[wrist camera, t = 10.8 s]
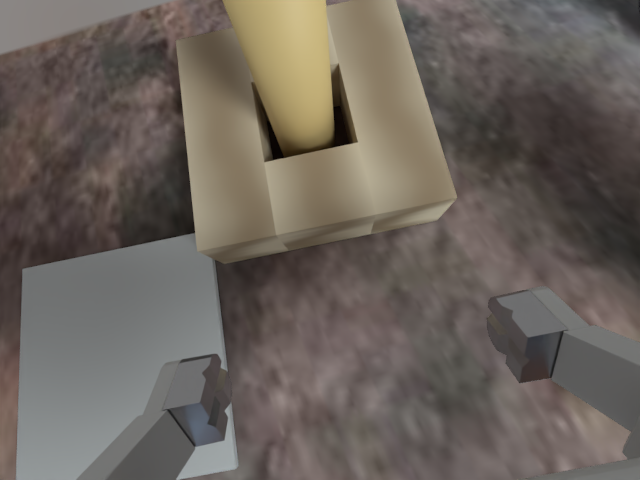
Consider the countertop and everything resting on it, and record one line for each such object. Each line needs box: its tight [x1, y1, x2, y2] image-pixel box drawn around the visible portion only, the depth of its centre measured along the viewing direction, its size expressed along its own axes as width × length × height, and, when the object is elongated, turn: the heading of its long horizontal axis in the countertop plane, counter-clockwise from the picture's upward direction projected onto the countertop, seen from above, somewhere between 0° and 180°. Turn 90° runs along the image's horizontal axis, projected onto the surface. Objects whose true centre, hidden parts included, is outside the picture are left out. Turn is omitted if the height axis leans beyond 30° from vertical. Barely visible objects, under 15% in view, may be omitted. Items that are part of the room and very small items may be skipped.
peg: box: [223, 0, 336, 158], centre depth 15 cm, size 3×3×11 cm
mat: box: [16, 233, 238, 480], centre depth 18 cm, size 11×12×1 cm
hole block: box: [176, 0, 457, 264], centre depth 18 cm, size 12×12×4 cm
